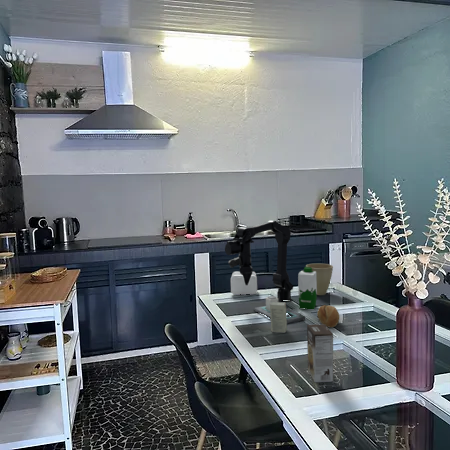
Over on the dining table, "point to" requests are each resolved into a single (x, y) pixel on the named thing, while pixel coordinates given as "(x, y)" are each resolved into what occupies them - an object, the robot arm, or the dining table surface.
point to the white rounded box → (243, 284)
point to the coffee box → (320, 352)
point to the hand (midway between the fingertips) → (246, 282)
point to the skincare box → (278, 317)
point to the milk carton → (307, 288)
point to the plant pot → (322, 276)
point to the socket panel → (294, 315)
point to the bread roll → (328, 315)
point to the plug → (270, 301)
